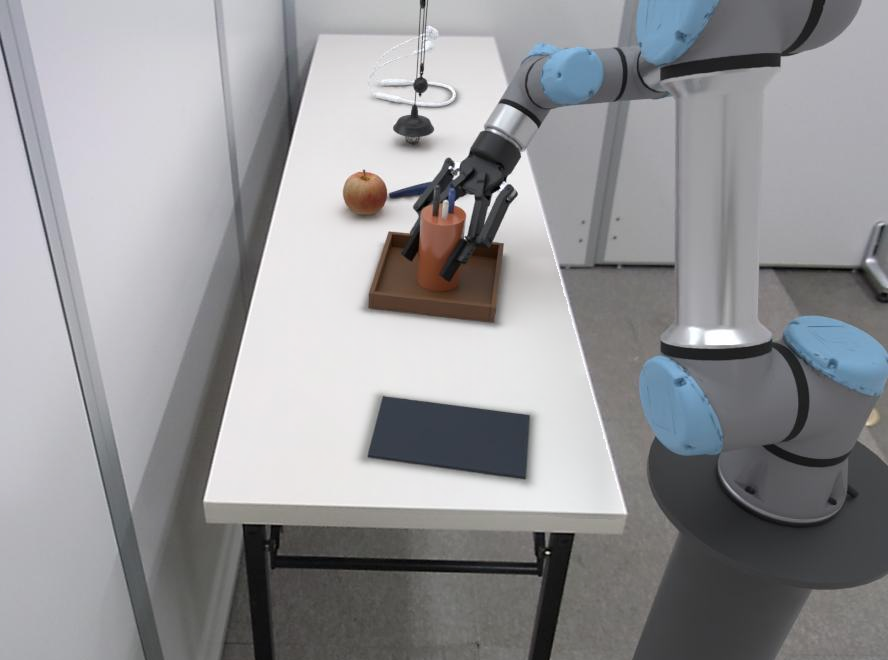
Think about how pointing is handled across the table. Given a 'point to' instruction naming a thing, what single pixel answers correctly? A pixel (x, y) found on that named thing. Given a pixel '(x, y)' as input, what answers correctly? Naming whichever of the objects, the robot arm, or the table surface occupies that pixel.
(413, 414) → the mat
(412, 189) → the tapered navy handle
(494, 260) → the tray
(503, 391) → the table surface
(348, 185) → the apple
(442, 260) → the pen pot
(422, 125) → the light fixture
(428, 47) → the earphone
